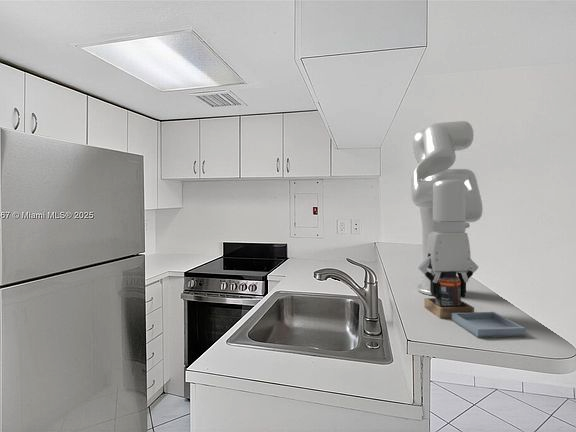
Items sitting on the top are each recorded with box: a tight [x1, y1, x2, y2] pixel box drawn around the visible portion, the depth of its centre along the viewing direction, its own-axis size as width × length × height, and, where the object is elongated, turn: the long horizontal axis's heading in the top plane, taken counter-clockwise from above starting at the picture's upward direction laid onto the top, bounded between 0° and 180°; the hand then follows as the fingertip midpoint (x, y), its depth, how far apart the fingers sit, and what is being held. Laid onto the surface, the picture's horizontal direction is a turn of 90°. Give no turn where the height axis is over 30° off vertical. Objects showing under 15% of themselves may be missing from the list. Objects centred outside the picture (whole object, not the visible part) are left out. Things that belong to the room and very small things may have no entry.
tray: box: [451, 311, 527, 339], centre depth 75 cm, size 10×10×2 cm
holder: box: [423, 297, 475, 319], centre depth 86 cm, size 9×9×2 cm
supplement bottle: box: [436, 271, 462, 308], centre depth 86 cm, size 6×6×11 cm
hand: (448, 295), depth 86 cm, fingers closed on supplement bottle, 6 cm apart
